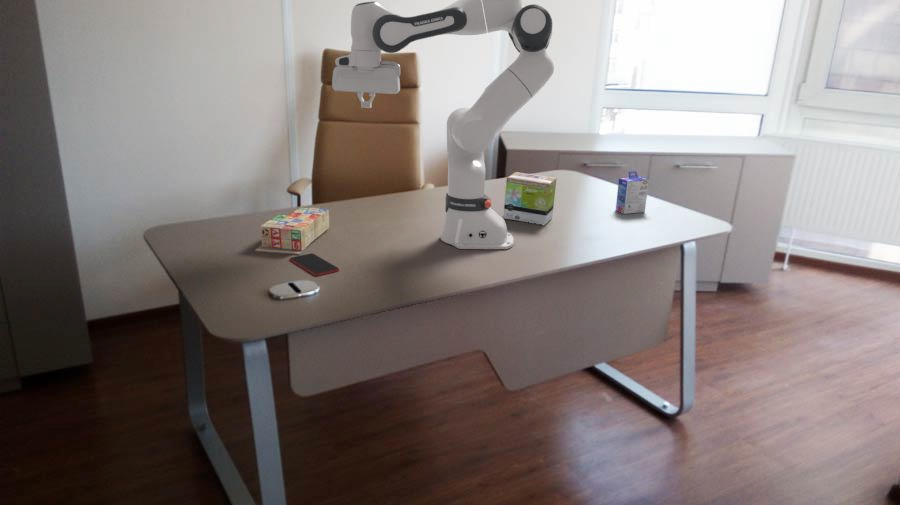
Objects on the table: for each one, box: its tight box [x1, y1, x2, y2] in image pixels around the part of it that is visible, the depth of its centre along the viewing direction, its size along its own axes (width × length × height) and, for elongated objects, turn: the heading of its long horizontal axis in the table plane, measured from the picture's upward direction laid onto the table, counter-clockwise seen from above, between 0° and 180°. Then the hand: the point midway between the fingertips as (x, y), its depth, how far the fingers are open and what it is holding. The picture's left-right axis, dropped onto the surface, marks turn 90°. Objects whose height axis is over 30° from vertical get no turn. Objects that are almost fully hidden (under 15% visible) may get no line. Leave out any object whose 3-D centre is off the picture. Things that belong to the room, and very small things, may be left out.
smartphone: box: [289, 253, 340, 277], centre depth 175 cm, size 7×1×15 cm
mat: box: [254, 244, 310, 256], centre depth 193 cm, size 13×25×1 cm, turn 174°
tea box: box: [503, 171, 557, 226], centre depth 220 cm, size 15×10×15 cm, turn 68°
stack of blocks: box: [260, 207, 330, 251], centre depth 193 cm, size 21×6×12 cm
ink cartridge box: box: [615, 170, 650, 215], centre depth 233 cm, size 10×6×14 cm, turn 114°
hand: (366, 107), depth 197 cm, fingers closed
